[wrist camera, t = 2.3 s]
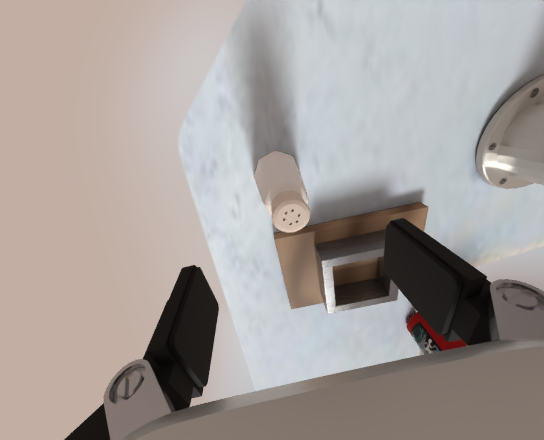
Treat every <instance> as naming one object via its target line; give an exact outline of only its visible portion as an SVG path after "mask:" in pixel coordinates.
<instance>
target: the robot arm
mask: <svg viewBox="0 0 544 440" xmlns="http://www.w3.org/2000/svg"><path fill="white" fill-rule="evenodd" d="M476 166H477V170H478V173H479V175H480V176H481V178H482V179H483V180H484V181H485V182H487V183H488V184H491V185H493V186H496V187H500V188H505V189H513V188H519V187H524V186H527V185H530V184H533V183H537V184H541V185H544V75H542V76H540V77H538V78H536V79H534V80H533V81H531V82H529V83H528V84H526V85H525V86H523V87H522V88H521V89H520V90H518V91H517V92H516V93H514V94H513V95H512V96H511V97H510V98H509V99H508V100H507V101H506V102H505V103H504V104H503V105H502V106H501V108H500V109H499V110H498V111H497V112H496V114H495V115H494V116H493V118H492V119H491V121H490V122H489V124H488V125H487V127H486V129H485V131H484V133H483V135H482V137H481V139H480V142H479V145H478V149H477V155H476ZM383 268H384V271H385V272H386V274H387V275H388V276H389V277H390V279H391V280H392V281H393V282H394V283H395V285H396V286H397V287H398V288H399V289H400V291H401V292H402V293H403V294H404V295H405V297H406V298H407V299H408V300H409V301H410V303H411V304H412V305H413V306H414V308H415V309H416V310H417V311H418V312H419V314H420V315H421V316H422V317H423V318H424V320H425V321H426V322H427V323H428V324H429V326H430V327H431V328H432V329H433V330H434V331H435V333H437V334H438V335H442V336H443V338H444V339H445V340H446V341H447V342H452V341H456V340H461V339H462V341H463V342H464V343H465V344H466V345H467V346H465V347H459V348H454V349H449V350H444V351H439V352H434V353H430V354H425V355H420V356H415V357H411V358H406V359H401V360H397V361H392V362H387V363H382V364H378V365H373V366H369V367H364V368H359V369H355V370H350V371H346V372H341V373H336V374H332V375H327V376H323V377H318V378H313V379H309V380H304V381H300V382H295V383H291V384H286V385H282V386H277V387H273V388H268V389H264V390H260V391H255V392H251V393H246V394H242V395H237V396H233V397H229V398H225V399H221V400H217V401H212V402H208V403H204V404H200V405H196V406H192V407H189V406H190V402H191V398H195V397H200V396H202V393H203V387H204V386H206V385H207V382H208V376H209V370H210V363H211V357H212V350H213V343H214V336H215V331H216V324H217V317H218V311H219V307H218V302H217V300H216V298H215V296H214V294H213V292H212V290H211V288H210V286H209V284H208V282H207V280H206V278H205V276H204V274H203V272H202V270H201V268H200V267H196V266H195V265H193V266H189V267H184V268H182V269H181V272H180V274H179V277H178V279H177V281H176V284H175V286H174V289H173V291H172V293H171V296H170V298H169V300H168V301H167V303H166V305H165V308H164V310H163V312H162V315H161V317H160V320H159V322H158V324H157V327H156V329H155V331H154V334H153V336H152V339H151V341H150V343H149V346H148V348H147V351H146V353H145V355H144V357H143V359H139V360H135V361H133V362H130V363H129V364H128V365H126V366H124V367H123V368H122V369H121V370H120V371H119V372H118V373H117V374H116V375H115V376H114V378H113V379H112V380H111V382H110V383H109V385H108V387H107V389H106V391H105V394H104V403H103V404H102V405H101V406H100V407H99V408H98V409H97V410H96V411H95V412H94V413H93V414H92V415H91V416H89V417H88V418H87V419H86V420H85V421H84V422H83V423H82V424H81V425H80V426H79V427H77V428H76V429H75V430H74V431H73V432H72V433H71V434H70V435H69V436H68V437H67V438H66V439H65V440H544V291H542V290H540V289H538V288H536V287H534V286H532V285H529V284H527V283H523V282H520V281H516V280H509V279H503V280H502V279H500V280H496V281H494V282H493V283H491V282H489V281H488V280H487V279H486V278H487V276H485V275H484V274H483V273H481V272H480V271H478V270H477V269H476V268H474V267H473V266H471V265H470V264H469V263H467V262H466V261H464V260H463V259H461V258H460V257H459V256H457V255H456V254H454V253H453V252H452V251H450V250H449V249H447V248H446V247H445V246H443V245H442V244H440V243H439V242H437V241H436V240H435V239H433V238H432V237H430V236H429V235H428V234H426V233H425V232H423V231H422V230H420V229H419V228H418V227H416V226H415V225H413V224H412V223H411V222H409V221H408V220H406V219H405V218H400V219H396V220H391V221H390V222H389V224H388V225H387V226H386V234H385V247H384V260H383Z"/></svg>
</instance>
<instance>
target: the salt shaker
mask: <svg viewBox="0 0 544 440" xmlns="http://www.w3.org/2000/svg"><path fill="white" fill-rule="evenodd" d="M254 179H255V181H256V184H257V187H258V190H259V193H260V196H261V198H262V201H263V203H264V205H265V207H266V209H267V211H268V212H269V214H270V216H271V217H272V221H273V224H274V225H275V227H276V228H278V229H279V230H281V231H283V232H296V231H298V230H301V229H302V228H303V227H305V225H306V224H307V223H308V221H309V219H310V209H309V207H308V205H307V203H308V201H309V200H308V195H307V192H306V189H305V186H304V183H303V180H302V177H301V174H300V171H299V169H298V167H297V164H296V162H295V160H294V158H293V156H291V155H288V154H285V153H282V152H279V151H276V150H275V151H273V152H271V153H270V154H268V155H266V156H264V157H262V158H261V159H259V161H258V164H257V168H256V171H255V175H254Z"/></svg>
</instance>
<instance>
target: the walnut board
mask: <svg viewBox="0 0 544 440" xmlns="http://www.w3.org/2000/svg"><path fill="white" fill-rule="evenodd" d="M427 212H428V206H426V205H424V204H423V203H421V202H419V203H414V204H409V205H405V206H400V207H395V208H391V209H386V210H381V211H377V212H372V213H367V214H362V215H358V216H353V217H348V218H344V219H339V220H334V221H330V222H325V223H320V224H316V225H311V226H306V227H303V228H302V229H301V230H298V231H296V232H278V233H274V239H275V244H276V248H277V252H278V256H279V260H280V264H281V268H282V273H283V277H284V281H285V285H286V289H287V293H288V298H289V302H290V306H291V309H295V308H300V307H305V306H310V305H315V304H320V303H324V302H323V299H322V296H321V292H320V284H319V277H318V269H317V261H316V253H315V245H314V244H318V243H322V242H327V241H332V240H337V239H341V238H346V237H351V236H355V235H360V234H365V233H370V232H374V231H379V230H384V229H386V226H387V225H388V224H389V222H390V221H391V220H396V219H400V218H405V219H406V220H408V221H409V222H411V223H412V224H413V225H415V226H416V227H418V228H419V229H420V230H422V231H423V232H424V228H425V223H426V217H427ZM332 269H333V281H334V286H338V285H343V284H348V283H353V282H358V281H362V280H367V279H372V278H376V270H377V257H376V258H371V259H367V260H362V261H357V262H352V263H347V264H342V265H338V266H333V267H332Z"/></svg>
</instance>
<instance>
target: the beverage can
mask: <svg viewBox="0 0 544 440" xmlns="http://www.w3.org/2000/svg"><path fill="white" fill-rule="evenodd" d="M407 329H408V331H409V332H410V334H411V335H412V337H413V338H414V339H415V341H416V342H417V344H418V345H419V347H420V348H421V350H422V351H423V352H424V354H430V353H434V352H439V351H444V350H449V349H454V348H459V347H465V346H467V345H466V344H465V343H464V342H463V341H462V339H461V340H456V341H452V342H447V341H446V340H445V339H444V338H443V336H442V335H438V334H437V333H435V331H434V330H433V329H432V328H431V327H430V326H429V324H428V323H427V322H426V321H425V320H424V318H423V317H422V316H421V315H420V314H419V312H417V313H415V314H414V315H412V316H411V317H410V319H409V321H408V323H407Z"/></svg>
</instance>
